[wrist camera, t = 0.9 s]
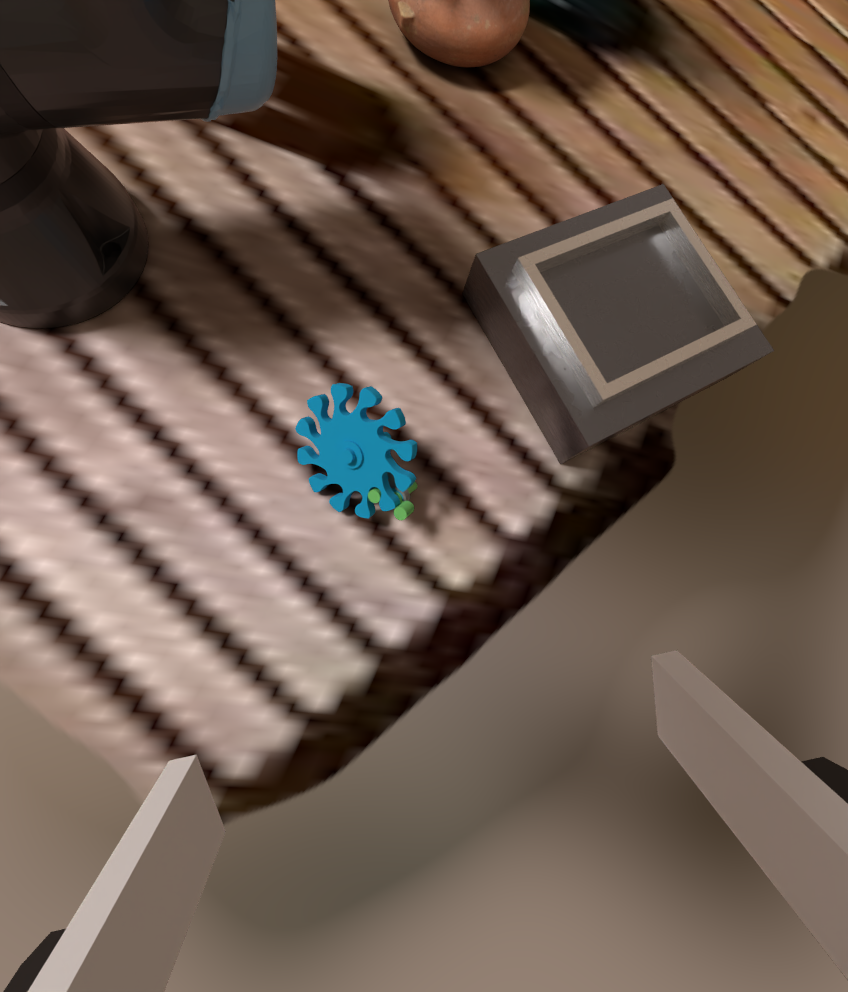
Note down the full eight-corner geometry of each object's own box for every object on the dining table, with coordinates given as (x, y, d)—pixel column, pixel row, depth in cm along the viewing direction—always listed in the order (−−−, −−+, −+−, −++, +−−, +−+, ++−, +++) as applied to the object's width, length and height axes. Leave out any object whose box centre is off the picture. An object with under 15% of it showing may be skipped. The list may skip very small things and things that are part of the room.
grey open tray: (462, 293, 41) (480, 239, 34) (630, 227, 45) (674, 168, 39) (560, 464, 39) (599, 439, 32) (727, 377, 43) (790, 341, 37)
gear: (267, 436, 34) (349, 353, 29) (315, 421, 39) (392, 348, 34) (351, 553, 34) (446, 493, 29) (387, 523, 39) (474, 467, 34)
